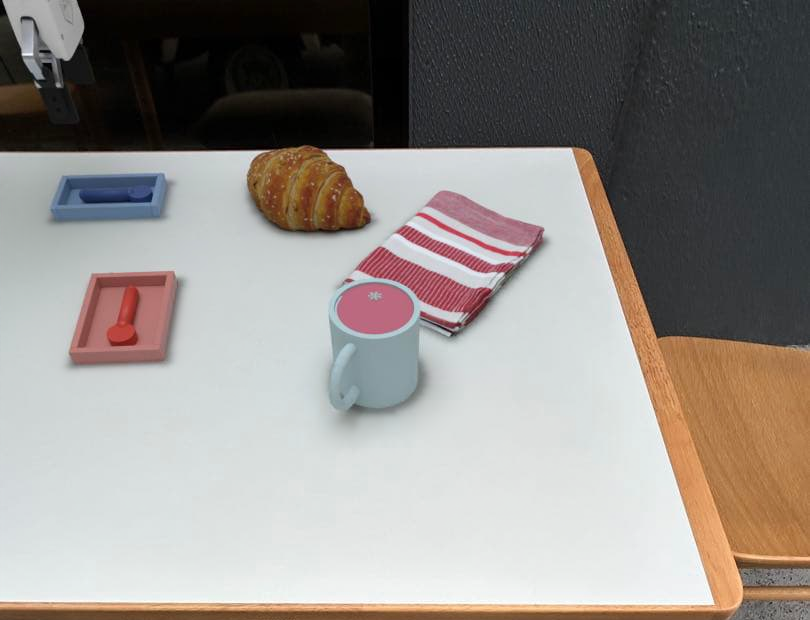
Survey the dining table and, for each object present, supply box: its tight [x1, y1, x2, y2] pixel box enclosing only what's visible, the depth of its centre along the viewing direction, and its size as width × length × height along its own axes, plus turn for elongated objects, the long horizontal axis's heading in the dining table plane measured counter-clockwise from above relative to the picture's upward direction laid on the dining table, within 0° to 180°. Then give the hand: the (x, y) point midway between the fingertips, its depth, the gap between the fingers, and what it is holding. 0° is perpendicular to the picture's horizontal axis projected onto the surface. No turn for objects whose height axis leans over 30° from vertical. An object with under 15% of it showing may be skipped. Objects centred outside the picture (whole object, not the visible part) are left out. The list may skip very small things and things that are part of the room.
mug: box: [327, 278, 421, 412], centre depth 70 cm, size 14×9×10 cm
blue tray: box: [49, 172, 168, 222], centre depth 92 cm, size 14×8×2 cm, turn 94°
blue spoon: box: [79, 185, 153, 203], centre depth 91 cm, size 10×3×2 cm, turn 94°
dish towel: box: [341, 189, 545, 338], centre depth 85 cm, size 17×23×3 cm
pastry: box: [246, 144, 371, 232], centre depth 89 cm, size 21×13×8 cm, turn 53°
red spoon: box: [106, 286, 139, 346], centre depth 78 cm, size 10×3×2 cm, turn 4°
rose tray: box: [68, 270, 179, 365], centre depth 79 cm, size 14×10×2 cm
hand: (74, 102), depth 81 cm, fingers open, 9 cm apart
